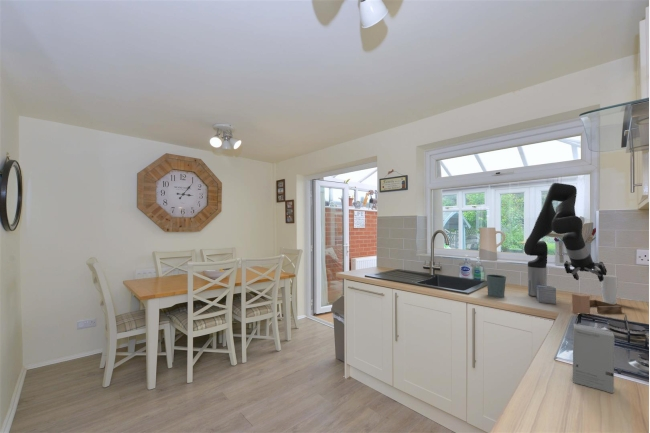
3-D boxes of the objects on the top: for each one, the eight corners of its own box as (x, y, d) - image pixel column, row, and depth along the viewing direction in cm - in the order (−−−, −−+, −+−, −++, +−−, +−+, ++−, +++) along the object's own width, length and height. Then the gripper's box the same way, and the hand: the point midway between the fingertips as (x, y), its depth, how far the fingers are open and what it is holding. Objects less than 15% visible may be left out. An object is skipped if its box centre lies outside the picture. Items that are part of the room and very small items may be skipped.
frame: (599, 313, 141) (599, 307, 142) (574, 305, 154) (574, 300, 155) (621, 312, 142) (621, 306, 142) (595, 305, 155) (595, 299, 155)
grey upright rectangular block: (572, 383, 79) (571, 327, 80) (572, 374, 84) (571, 322, 84) (616, 394, 74) (614, 335, 74) (613, 384, 78) (612, 329, 79)
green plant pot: (485, 293, 183) (485, 273, 183) (504, 294, 179) (504, 275, 179) (488, 296, 173) (487, 276, 174) (507, 298, 170) (507, 277, 170)
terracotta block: (581, 315, 138) (580, 296, 139) (572, 312, 143) (572, 293, 143) (590, 315, 139) (589, 296, 139) (581, 312, 143) (580, 293, 144)
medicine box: (554, 302, 162) (553, 286, 162) (556, 304, 158) (556, 288, 158) (536, 300, 165) (536, 285, 166) (538, 302, 161) (538, 286, 162)
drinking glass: (621, 305, 156) (621, 277, 156) (607, 304, 157) (606, 276, 157) (612, 301, 162) (611, 274, 163) (597, 301, 164) (597, 274, 164)
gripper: (600, 248, 129) (611, 275, 133) (561, 248, 141) (571, 273, 145) (597, 259, 125) (608, 287, 129) (557, 258, 137) (568, 283, 141)
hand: (589, 279), depth 137 cm, fingers open, 8 cm apart
